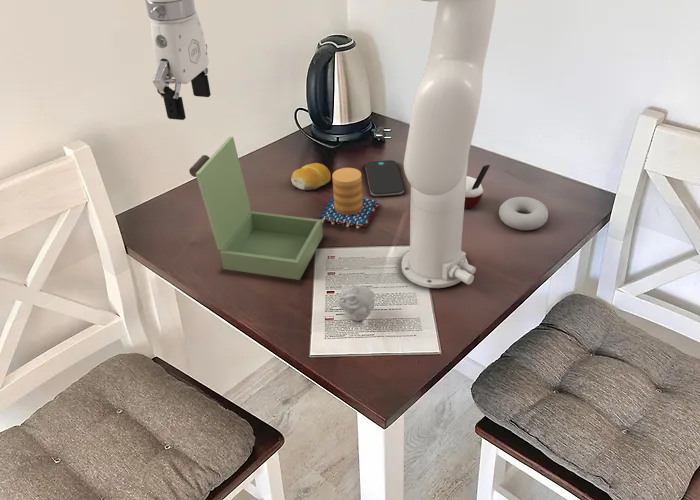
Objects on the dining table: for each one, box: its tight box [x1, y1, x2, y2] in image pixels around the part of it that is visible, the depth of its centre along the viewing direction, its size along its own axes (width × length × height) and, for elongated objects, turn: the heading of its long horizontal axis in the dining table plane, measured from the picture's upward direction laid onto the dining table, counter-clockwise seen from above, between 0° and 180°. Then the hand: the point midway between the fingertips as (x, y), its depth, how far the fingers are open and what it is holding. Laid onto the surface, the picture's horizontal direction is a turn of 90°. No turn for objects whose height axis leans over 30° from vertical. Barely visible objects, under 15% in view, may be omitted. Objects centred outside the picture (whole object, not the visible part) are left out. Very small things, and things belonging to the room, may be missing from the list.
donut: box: [498, 196, 549, 231], centre depth 137 cm, size 10×4×10 cm
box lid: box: [189, 136, 252, 251], centre depth 126 cm, size 16×15×5 cm
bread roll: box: [290, 162, 332, 191], centre depth 153 cm, size 8×9×4 cm
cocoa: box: [464, 164, 491, 209], centre depth 139 cm, size 10×6×12 cm, turn 6°
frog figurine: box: [335, 284, 375, 322], centre depth 113 cm, size 6×7×7 cm
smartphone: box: [364, 159, 405, 197], centre depth 153 cm, size 8×1×15 cm
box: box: [219, 210, 324, 281], centre depth 130 cm, size 16×15×5 cm
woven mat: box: [318, 195, 380, 229], centre depth 141 cm, size 10×11×2 cm
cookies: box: [331, 167, 363, 215], centre depth 138 cm, size 6×6×8 cm
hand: (190, 107), depth 116 cm, fingers open, 9 cm apart
